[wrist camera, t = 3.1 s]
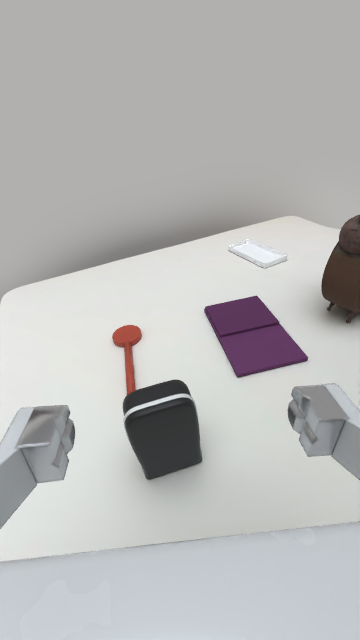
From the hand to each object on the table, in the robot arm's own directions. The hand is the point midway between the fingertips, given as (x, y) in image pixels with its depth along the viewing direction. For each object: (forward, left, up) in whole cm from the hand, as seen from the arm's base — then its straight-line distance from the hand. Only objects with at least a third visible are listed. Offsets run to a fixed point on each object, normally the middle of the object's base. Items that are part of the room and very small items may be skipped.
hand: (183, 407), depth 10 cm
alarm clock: (-35, -29, -24) cm, 51 cm away
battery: (+2, -11, -24) cm, 26 cm away
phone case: (-29, -58, -24) cm, 69 cm away
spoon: (+6, -29, -23) cm, 38 cm away
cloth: (-15, -29, -23) cm, 40 cm away
